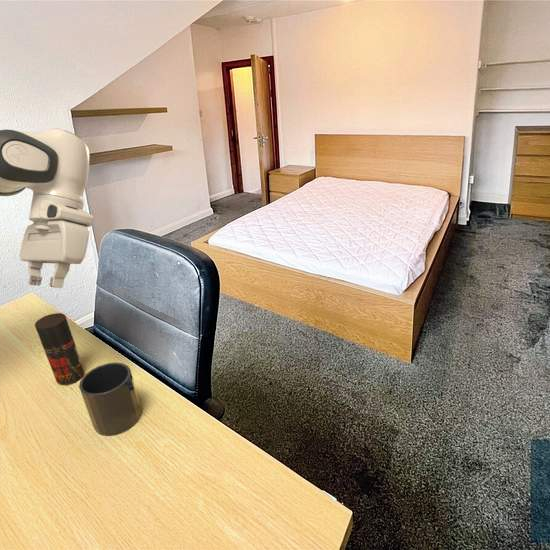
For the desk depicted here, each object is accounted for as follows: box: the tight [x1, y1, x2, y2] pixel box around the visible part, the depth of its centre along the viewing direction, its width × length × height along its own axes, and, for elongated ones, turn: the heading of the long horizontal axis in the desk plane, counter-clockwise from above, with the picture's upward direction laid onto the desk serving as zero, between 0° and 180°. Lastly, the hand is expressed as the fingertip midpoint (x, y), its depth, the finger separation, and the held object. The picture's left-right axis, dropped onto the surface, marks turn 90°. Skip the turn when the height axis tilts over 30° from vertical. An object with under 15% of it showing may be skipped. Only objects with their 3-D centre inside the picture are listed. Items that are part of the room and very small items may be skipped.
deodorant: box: [34, 312, 86, 386], centre depth 89 cm, size 6×6×15 cm
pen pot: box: [78, 362, 142, 437], centre depth 78 cm, size 9×9×10 cm
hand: (44, 286), depth 78 cm, fingers open, 8 cm apart
